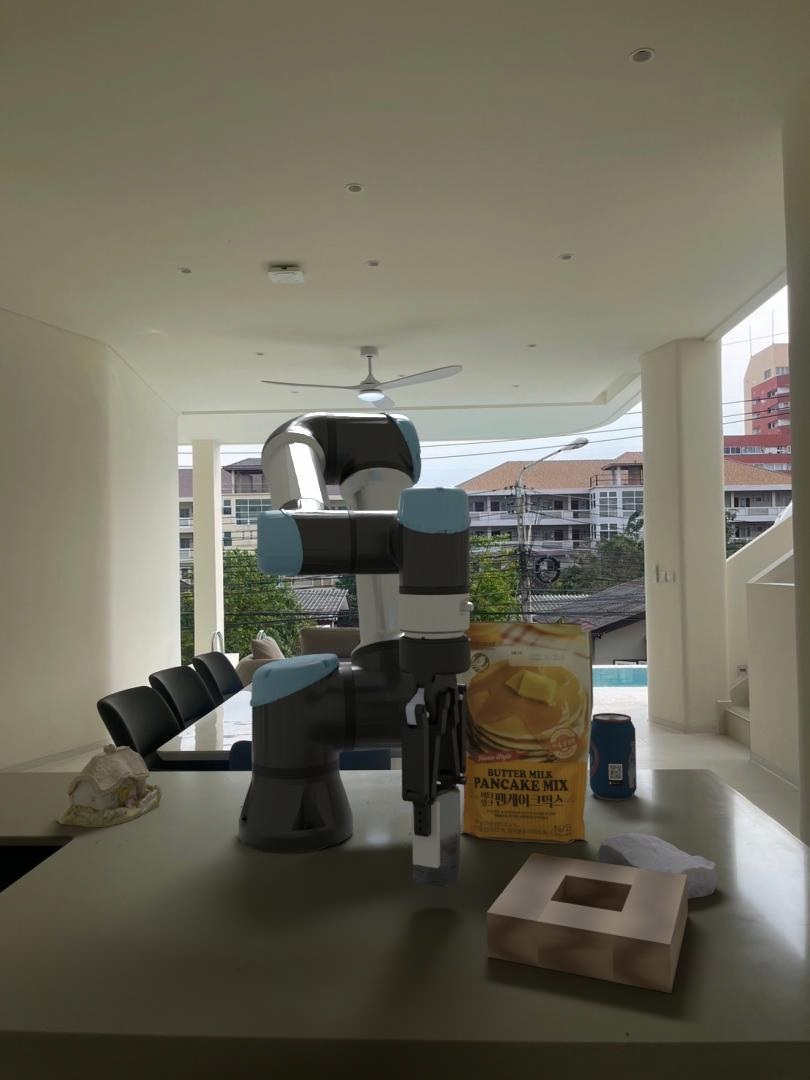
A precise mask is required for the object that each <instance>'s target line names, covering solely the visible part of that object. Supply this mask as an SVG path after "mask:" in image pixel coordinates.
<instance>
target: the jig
mask: <svg viewBox="0 0 810 1080" xmlns="http://www.w3.org/2000/svg"><path fill="white" fill-rule="evenodd" d="M688 901H689V899H688V900H687V875H685V874H678V873H671V872H664V871H656V870H649V869H642V868H635V867H628V866H621V865H614V864H607V863H600V862H599V861H593V860H592V861H591V860H584V859H578V858H571V857H565V856H564V857H561V856H558V855H557V856H556V855H550V854H548V855H547V854H542V853H534V852H532V853H531V855H530V856H529V857H528V859H527V860H526V861H525V862H524V864H523V865H522V866H521V867H520V869H519V870H518V871H517V873H516V874H515V875H514V876H513V877H512V879H511V880H510V882H509V883H508V884H507V885H506V887H505V888H504V890H503V891H501V893H500V895H499V896H497V898H496V900H495V901H494V902H493V904H492V905H491V906H490V907H489V909H488V910H487V911H486V948H487V949H486V954H487V955H486V957H488V958H492V959H498V960H503V961H506V962H507V961H509V962H514V963H518V964H523V965H527V966H532V967H538V968H541V969H542V968H543V969H548V970H553V971H558V972H563V973H568V974H573V975H578V976H581V977H582V976H583V977H588V978H593V979H599V980H602V981H603V980H604V981H608V982H613V983H619V984H624V985H628V986H633V987H638V988H643V989H647V990H653V991H658V992H664V993H668V994H672V990H673V986H674V981H675V976H676V974H677V973H676V971H677V967H678V963H679V958H680V954H681V953H680V952H681V949H682V944H683V939H684V934H685V930H686V925H687V921H688V915H689V911H688V909H689V906H688Z"/></svg>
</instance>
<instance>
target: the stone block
mask: <svg viewBox="0 0 810 1080" xmlns="http://www.w3.org/2000/svg"><path fill="white" fill-rule="evenodd" d="M597 858H598V862H600V863H607V864H614V865H621V866H628V867H635V868H642V869H649V870H656V871H664V872H671V873H678V874H685V875H687V900H688V901H689V899H693V898H699V897H700V898H701V897H707V896H711V895H712V894H714V893H715V889H716V887H717V886H718V884H719V874H718V869H717V865H716V863H715V862H714V861H711V860H708V859H706V858H705V857H703V856H701V855H693V856H692V855H690V854H689V853H687V852H685V851H683V850H680V849H679V848H677V847H676V846H675V845H673V844H672V843H670V842H668V841H665V840H663V839H661V838H659V837H658V836H655V835H652V834H650V833H636V832H633V831H632V832H629V833H624V832H623V833H618V834H615V835H612V836H610V837H607V838H605V839H604V840H603V841H601V843H600V846H599V848H598V852H597Z"/></svg>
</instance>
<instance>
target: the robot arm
mask: <svg viewBox="0 0 810 1080" xmlns="http://www.w3.org/2000/svg"><path fill="white" fill-rule="evenodd" d="M260 455H261V457H260V463H261V464H260V465H261V471H262V473H263V475H264V477H265V479H266V480H267V482H268V483H269V492H270V509H271V510H264V511H262V512H259V513H258V515H257V519H256V546H257V547H256V551H257V552H256V553H257V554H256V556H257V558H256V559H257V569H258V570H259V572H260V573H261V574H263V575H265V576H280V577H281V576H282V577H283V576H284V577H287V578H296V577H314V576H316V577H317V576H344V575H345V576H347V575H351V576H354V575H355V583H356V594H357V596H356V598H357V610H358V624H359V637H360V638H359V639H360V643H358V644H357V646H356V647H355V648H354V649H353V650H352V651H351V653H350V663H347V664H346V663H345V664H342V663H341V664H340V659H339V657H338V655H336V654H335V653H320V654H319V653H318V654H317V653H315V654H306V655H299V656H294V657H293V656H292V657H286V658H283V659H282V658H281V659H278V660H275V661H271V662H268V663H266V664H263V665H262V666H259V668H257V669H256V670H255V672H254V673H253V675H252V678H251V679H252V680H251V695H250V697H251V699H250V700H249V706H250V707H251V778H250V782H249V784H248V789H247V792H246V796H245V799H244V801H243V805H242V807H241V808H242V809H241V811H240V814H239V818H238V839H239V841H240V842H241V843H242V844H243V845H245V846H247V847H250V848H252V849H255V850H260V851H265V852H275V853H276V852H277V853H299V852H310V851H315V850H320V849H324V848H327V847H331V846H335V845H338V844H339V843H342V842H344V841H345V840H347V839H349V837H351V835H352V834H353V832H354V815H353V811H352V810H353V809H352V807H351V805H350V801H349V798H348V795H347V792H346V788H345V787H344V783H343V780H342V777H341V772H340V754H341V753H343V752H344V753H345V752H361V751H362V752H363V751H380V750H381V751H382V750H398V749H401V799H402V801H403V802H409V803H412V806H411V807H412V865H413V864H416V865H421V866H427V867H433V868H438V867H439V866H440V802H439V801H435V800H436V787H437V784H438V783H440V784H447V785H452V786H455V787H457V788H458V789H459V790H460V788H459V786H457V785H463V786H464V785H466V783H467V777H466V776H462V774H465V772H466V707H465V705H466V696H467V685H466V684H457V678H456V674H461V673H464V672H466V671H468V670H469V669H470V666H471V647H470V638H469V637H468V636H467V635H464V632H465V631H467V630H468V629H469V628H470V621H471V615H470V613H472V612H473V611H474V610H475V605H474V603H472V602H470V595H471V594H470V592H471V590H470V585H471V583H470V582H471V581H470V580H471V579H470V577H471V576H470V575H471V574H470V573H471V565H470V558H471V557H470V556H471V555H470V551H471V549H470V547H471V545H470V544H471V543H470V535H471V534H470V528H471V523H472V519H471V516H470V508H469V507H470V505H469V497H468V496H469V495H468V493H467V492H466V491H465V490H464V489H463V488H462V487H461V488H460V487H457V486H416V485H417V484H418V483H419V481H420V478H421V475H422V474H421V473H422V458H421V444H420V439H419V434H418V431H417V429H416V427H415V425H414V423H413V421H411V419H410V418H409V417H407V416H405V415H403V414H395V413H394V414H393V413H392V414H391V413H388V412H379V413H376V414H375V413H357V412H356V413H355V412H354V413H350V412H325V411H321V412H319V411H315V412H309V413H305V414H301V415H299V416H296V417H294V418H291V419H288V420H287V421H286V422H284V423H282V424H281V425H279V426H278V427H277V428H276V429H275V430H273V431H272V432H271V433H270V435H269V436H268V437H267V439H266V440H265V442H264V445H263V446H262V449H261V454H260ZM327 486H338V487H339V494H340V497H341V498H342V500H343V501H345V503H347V504H348V505H350V509H349V510H347V509H342V510H341V509H340V510H339V509H337V510H336V509H333V508H332V505H331V500H330V498H329V497H330V496H329V492H328V489H327ZM414 486H416V487H414Z"/></svg>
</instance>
